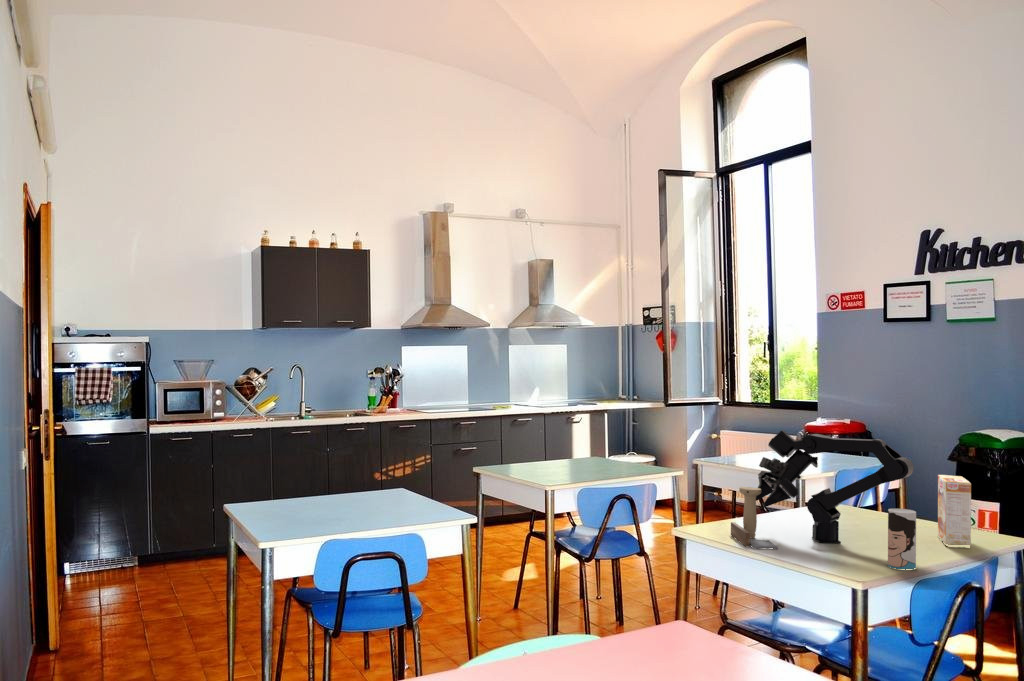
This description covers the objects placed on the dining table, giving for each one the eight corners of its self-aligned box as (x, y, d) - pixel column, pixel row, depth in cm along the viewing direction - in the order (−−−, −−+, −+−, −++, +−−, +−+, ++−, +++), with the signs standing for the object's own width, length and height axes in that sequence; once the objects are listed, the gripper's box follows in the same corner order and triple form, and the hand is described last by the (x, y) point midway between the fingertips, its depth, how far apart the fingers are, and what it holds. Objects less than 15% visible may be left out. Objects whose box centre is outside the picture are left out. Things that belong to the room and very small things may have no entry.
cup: (888, 563, 223) (888, 507, 223) (915, 566, 220) (916, 510, 220) (887, 568, 217) (887, 511, 217) (915, 572, 214) (916, 514, 214)
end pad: (768, 542, 245) (768, 540, 245) (777, 549, 237) (777, 546, 237) (745, 542, 245) (745, 539, 245) (754, 549, 237) (754, 546, 237)
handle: (757, 540, 248) (758, 490, 248) (736, 537, 252) (737, 488, 252) (762, 537, 252) (763, 488, 252) (742, 534, 256) (742, 486, 256)
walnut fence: (734, 535, 255) (734, 522, 255) (749, 546, 240) (749, 532, 240) (730, 535, 255) (730, 522, 255) (745, 546, 240) (745, 532, 240)
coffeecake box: (936, 536, 257) (937, 474, 258) (962, 538, 255) (962, 475, 255) (944, 547, 243) (945, 481, 244) (971, 549, 241) (972, 482, 241)
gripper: (764, 445, 263) (730, 479, 262) (788, 452, 244) (751, 489, 243) (788, 470, 263) (754, 504, 262) (813, 478, 244) (777, 516, 243)
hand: (758, 502), depth 253 cm, fingers open, 9 cm apart
